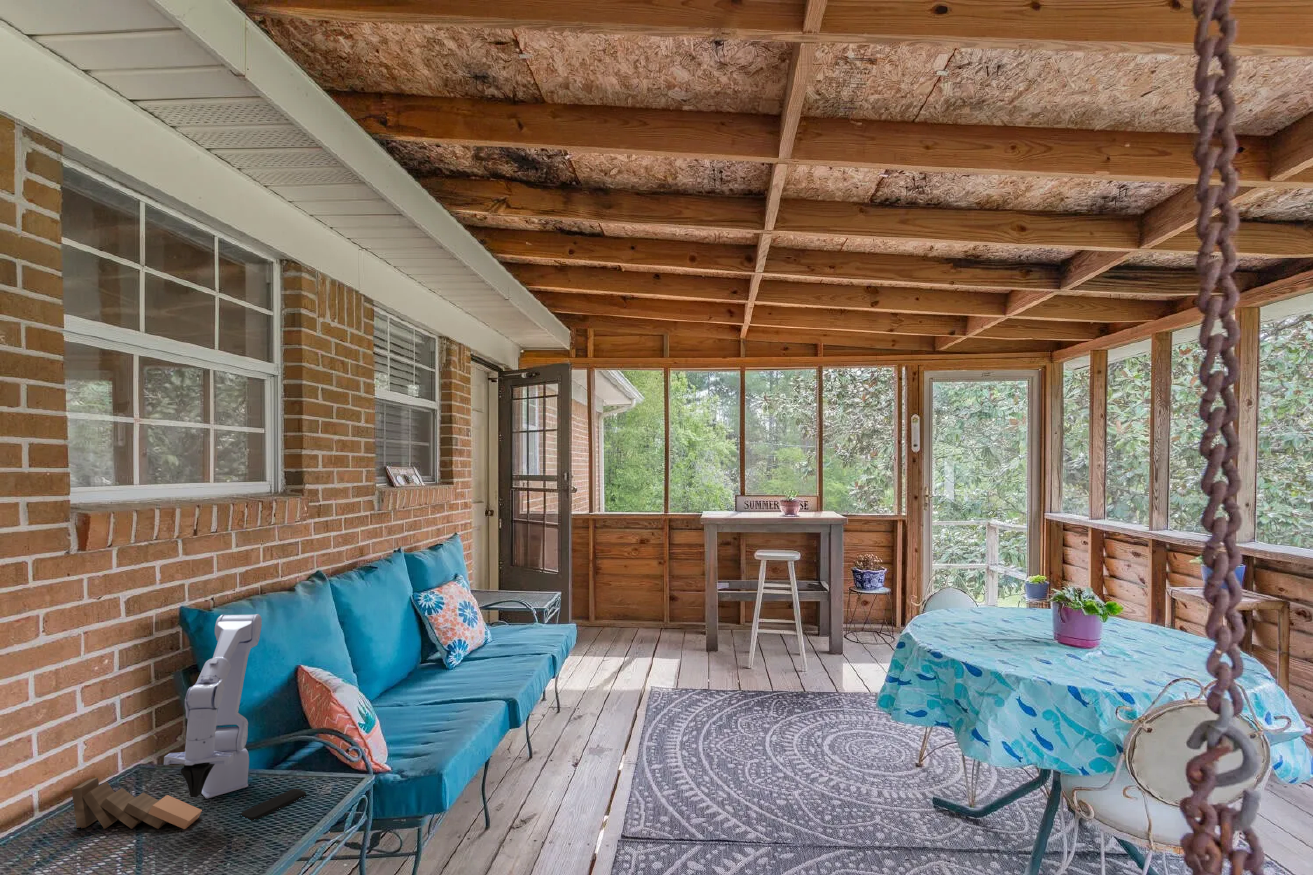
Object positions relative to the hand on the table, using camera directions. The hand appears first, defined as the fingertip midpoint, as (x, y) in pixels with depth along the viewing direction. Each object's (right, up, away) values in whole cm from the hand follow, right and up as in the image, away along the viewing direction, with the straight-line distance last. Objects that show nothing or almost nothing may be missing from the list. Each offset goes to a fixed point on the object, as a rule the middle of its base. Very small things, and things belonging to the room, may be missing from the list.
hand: (195, 795), depth 153 cm
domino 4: (-6, -5, -1) cm, 8 cm away
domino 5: (0, -6, 0) cm, 6 cm away
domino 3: (-12, -5, -1) cm, 13 cm away
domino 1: (-23, -5, -2) cm, 24 cm away
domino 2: (-17, -5, -2) cm, 18 cm away
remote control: (+13, -8, +9) cm, 18 cm away
